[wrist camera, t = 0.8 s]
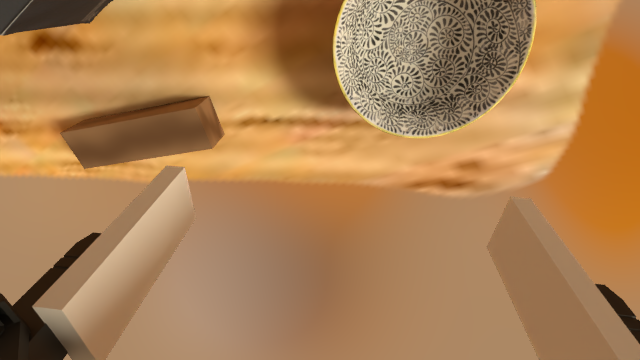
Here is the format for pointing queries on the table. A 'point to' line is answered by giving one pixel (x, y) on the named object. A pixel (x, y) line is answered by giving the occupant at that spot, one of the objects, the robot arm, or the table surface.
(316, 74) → the table surface
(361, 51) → the bowl
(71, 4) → the small box
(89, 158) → the walnut rail
